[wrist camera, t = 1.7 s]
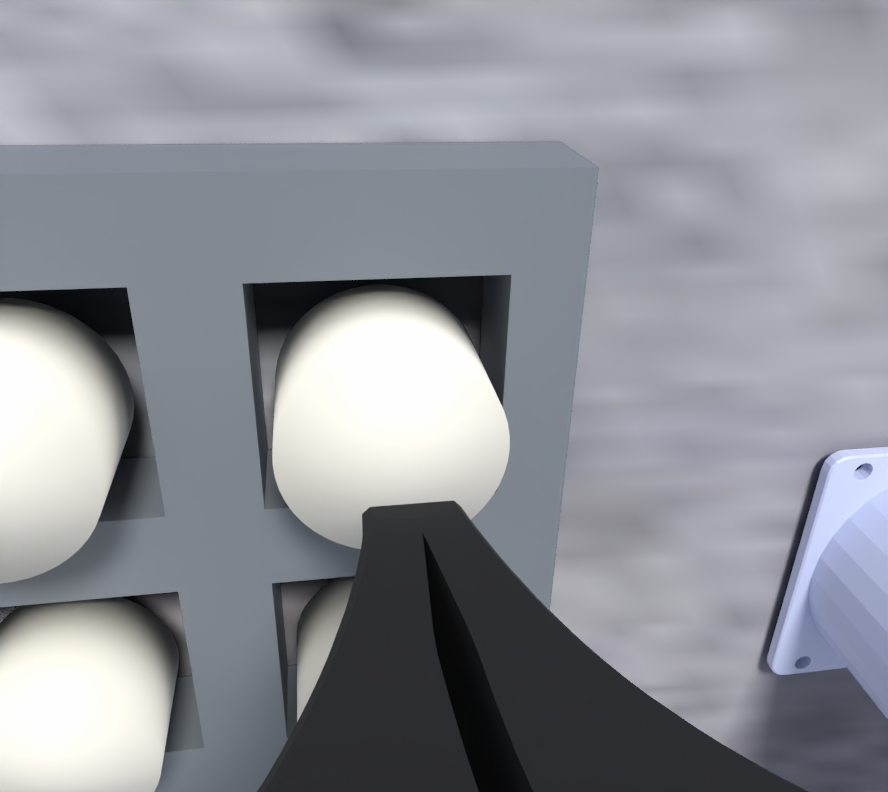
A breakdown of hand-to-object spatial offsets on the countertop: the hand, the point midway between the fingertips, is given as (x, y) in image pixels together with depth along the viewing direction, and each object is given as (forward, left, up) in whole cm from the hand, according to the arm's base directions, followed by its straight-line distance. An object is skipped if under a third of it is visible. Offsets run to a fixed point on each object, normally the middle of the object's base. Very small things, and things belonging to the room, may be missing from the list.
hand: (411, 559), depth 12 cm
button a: (0, 0, -6) cm, 6 cm away
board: (+3, +4, -8) cm, 9 cm away
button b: (+7, 0, -6) cm, 9 cm away
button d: (+7, +7, -6) cm, 11 cm away
